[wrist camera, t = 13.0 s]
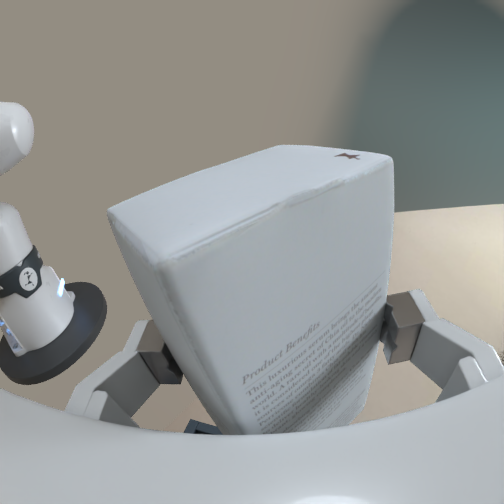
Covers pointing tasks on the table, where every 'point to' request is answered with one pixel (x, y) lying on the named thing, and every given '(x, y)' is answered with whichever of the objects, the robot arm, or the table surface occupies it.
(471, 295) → the table surface
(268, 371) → the cosmetic box
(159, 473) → the robot arm
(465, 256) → the table surface
